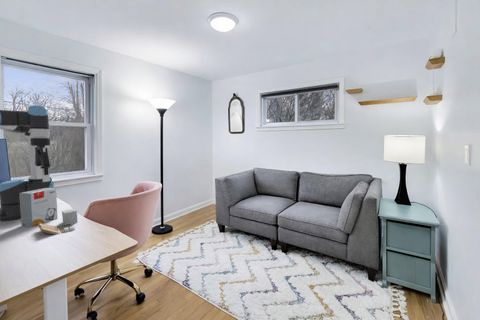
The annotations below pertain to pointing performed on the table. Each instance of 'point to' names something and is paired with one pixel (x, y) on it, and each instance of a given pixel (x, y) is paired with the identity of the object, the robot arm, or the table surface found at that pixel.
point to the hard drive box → (38, 206)
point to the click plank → (48, 229)
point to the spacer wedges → (68, 229)
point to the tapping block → (69, 216)
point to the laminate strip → (61, 228)
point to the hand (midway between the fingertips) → (43, 180)
